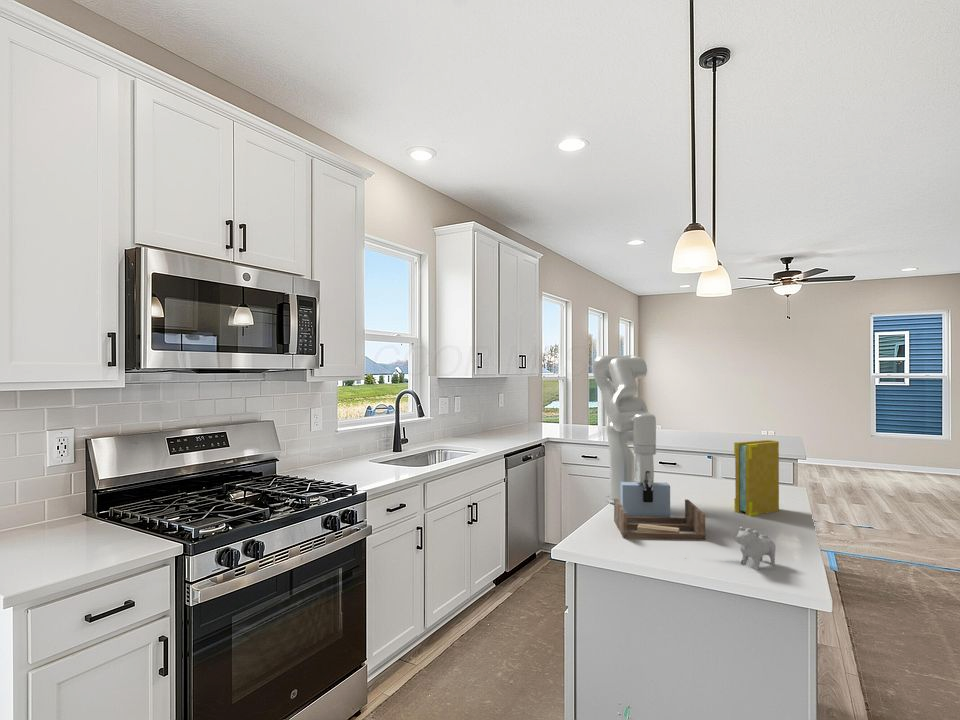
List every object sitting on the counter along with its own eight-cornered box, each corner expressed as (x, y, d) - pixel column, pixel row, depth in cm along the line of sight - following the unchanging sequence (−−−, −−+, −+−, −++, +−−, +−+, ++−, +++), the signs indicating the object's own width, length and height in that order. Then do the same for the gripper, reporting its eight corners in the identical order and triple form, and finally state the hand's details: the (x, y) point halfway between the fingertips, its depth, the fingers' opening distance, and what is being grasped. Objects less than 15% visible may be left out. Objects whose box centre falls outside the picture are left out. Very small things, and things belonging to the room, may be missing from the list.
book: (750, 516, 199) (749, 444, 199) (734, 511, 205) (734, 442, 205) (783, 510, 206) (783, 441, 206) (767, 506, 212) (767, 439, 212)
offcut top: (639, 529, 179) (639, 523, 179) (679, 534, 174) (679, 527, 174) (637, 533, 175) (637, 526, 175) (678, 538, 170) (678, 531, 170)
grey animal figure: (729, 566, 151) (729, 526, 151) (761, 558, 157) (760, 519, 157) (747, 573, 146) (747, 531, 146) (779, 564, 152) (778, 524, 152)
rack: (614, 525, 188) (614, 498, 188) (688, 526, 186) (688, 499, 186) (623, 542, 170) (623, 512, 170) (705, 544, 168) (705, 514, 168)
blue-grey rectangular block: (620, 515, 200) (620, 482, 200) (666, 516, 199) (666, 482, 199) (622, 519, 195) (622, 485, 195) (670, 520, 194) (670, 485, 194)
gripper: (629, 445, 206) (629, 492, 206) (638, 453, 188) (638, 504, 188) (650, 445, 205) (650, 492, 205) (661, 453, 188) (661, 505, 188)
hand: (644, 498), depth 197 cm, fingers open, 9 cm apart
